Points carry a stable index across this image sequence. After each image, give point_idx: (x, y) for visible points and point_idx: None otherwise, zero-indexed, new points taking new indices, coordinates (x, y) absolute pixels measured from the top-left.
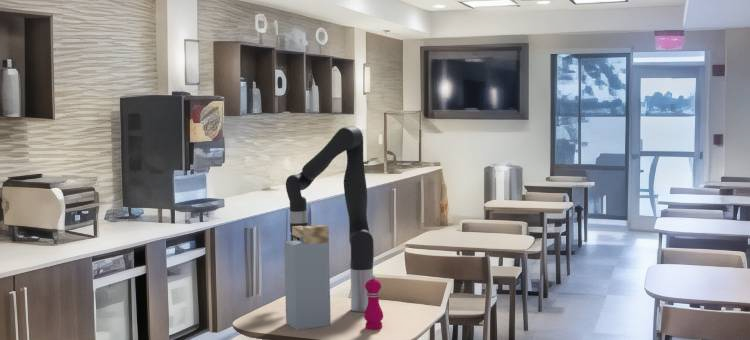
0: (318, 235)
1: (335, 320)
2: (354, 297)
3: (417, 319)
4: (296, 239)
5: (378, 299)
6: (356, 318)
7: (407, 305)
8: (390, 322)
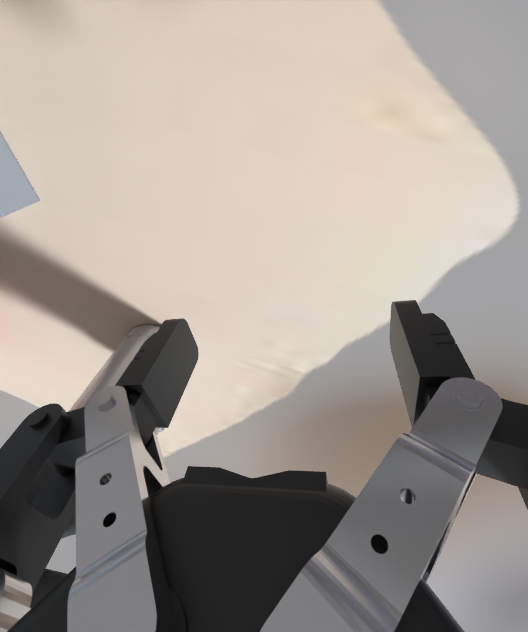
0: None
1: (26, 246)
2: (112, 358)
3: (58, 402)
4: (98, 630)
5: None
6: (57, 306)
7: (184, 430)
8: (25, 356)
